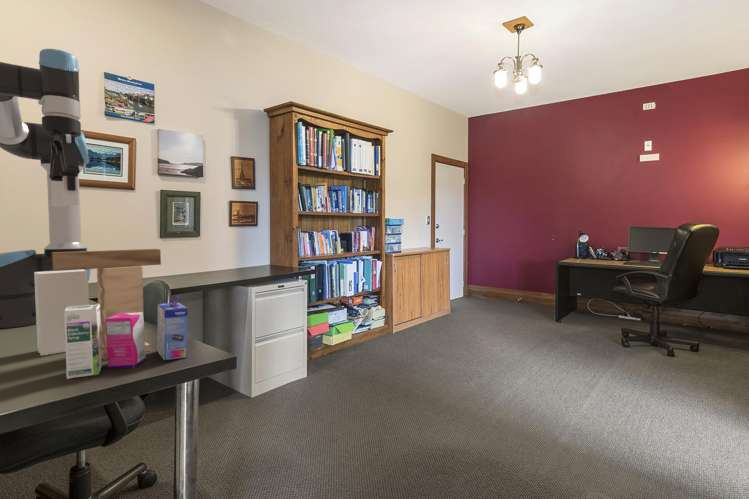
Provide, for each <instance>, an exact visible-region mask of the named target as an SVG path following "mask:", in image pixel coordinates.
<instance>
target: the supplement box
mask: <svg viewBox="0 0 749 499" xmlns="http://www.w3.org/2000/svg"><path fill="white" fill-rule="evenodd" d="M105 323H106V339H107V356H108V359H107V368H108V369H134V368H136V367H137V366H139V365H140V364H141V363H143V362H145V361H146V360H147V357H146V352H145V342H146V340H145V320H143V312H138V313H118V314H116V315H113V316H111V317H109V318H106V319H105Z"/></svg>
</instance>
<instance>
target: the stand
mask: <svg viewBox="0 0 749 499" xmlns="http://www.w3.org/2000/svg"><path fill="white" fill-rule="evenodd" d="M143 278H144V277H143V266H130V267H113V268H97V269H96V282H97V283H96V284H97V287H96V288H97V304H100V325H101V353H102V360H103V361H105V360H108V356H107V339H106V323H105V319H106V318H109V317H111V316H113V315H116V314H118V313H138V312H143V320H144V319H145V318H144V315H145V314H144V284H143V282H144V281H143V280H144V279H143ZM144 321H145V320H144ZM150 351H151V344H150V343H148V342H147V341H145V353H146V352H150Z"/></svg>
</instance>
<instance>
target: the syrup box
mask: <svg viewBox="0 0 749 499" xmlns="http://www.w3.org/2000/svg"><path fill="white" fill-rule="evenodd" d="M64 327H65V345H66V352H65V365H66V366H65V369H66V370H65V374H66V376H65V377H66V380H70V379H73V378H74V379H75V378H83V377H84V378H85V377H90V376H91V377H92V376H99V374H100V372H101V369H102V366H103V359H102V353H101V325H100V304H98V303H97V304H89V305H85V306H70V307H67V308H66V309H65V311H64Z"/></svg>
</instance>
